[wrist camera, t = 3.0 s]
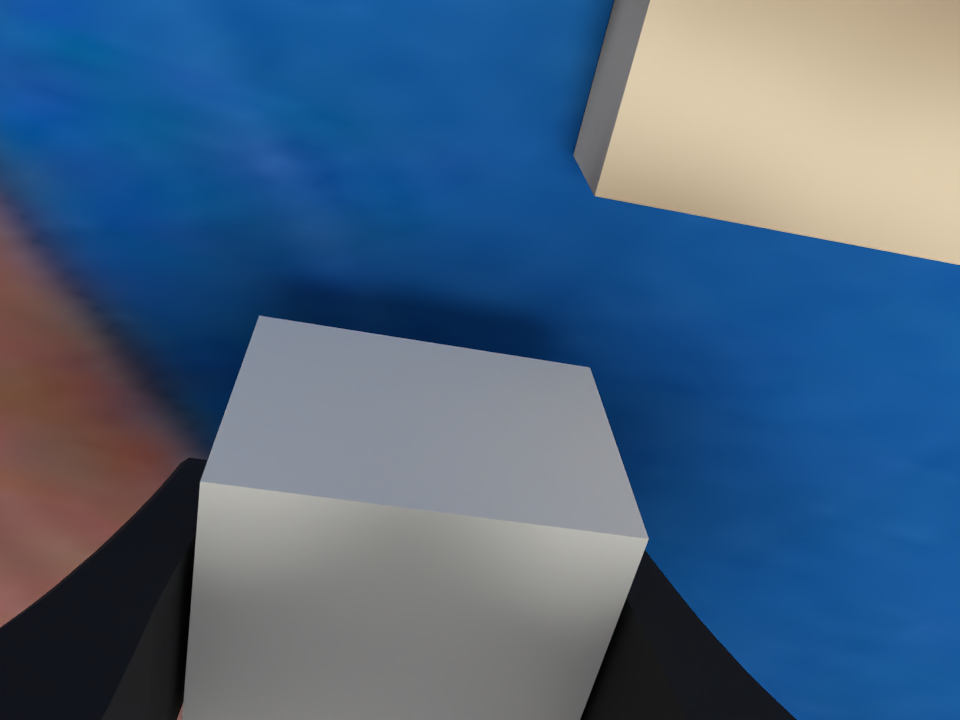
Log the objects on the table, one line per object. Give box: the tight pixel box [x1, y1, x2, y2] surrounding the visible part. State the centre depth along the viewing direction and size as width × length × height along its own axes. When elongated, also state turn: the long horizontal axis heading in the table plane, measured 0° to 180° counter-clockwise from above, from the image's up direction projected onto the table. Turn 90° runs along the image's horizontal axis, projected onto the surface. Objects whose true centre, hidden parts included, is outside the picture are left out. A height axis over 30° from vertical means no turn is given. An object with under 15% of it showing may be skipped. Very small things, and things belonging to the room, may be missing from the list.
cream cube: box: [182, 316, 649, 720], centre depth 13 cm, size 5×5×4 cm
